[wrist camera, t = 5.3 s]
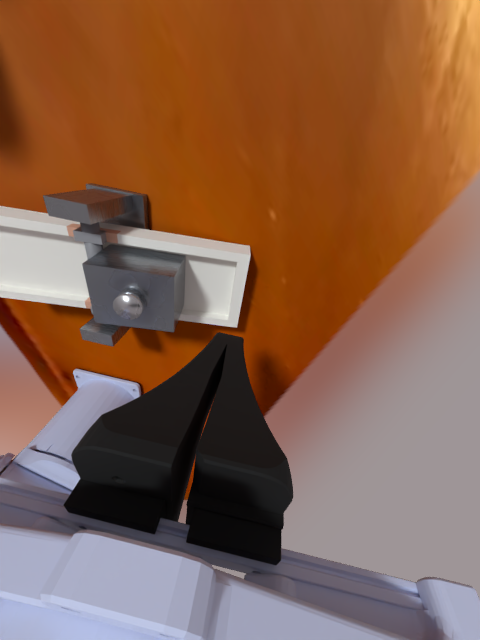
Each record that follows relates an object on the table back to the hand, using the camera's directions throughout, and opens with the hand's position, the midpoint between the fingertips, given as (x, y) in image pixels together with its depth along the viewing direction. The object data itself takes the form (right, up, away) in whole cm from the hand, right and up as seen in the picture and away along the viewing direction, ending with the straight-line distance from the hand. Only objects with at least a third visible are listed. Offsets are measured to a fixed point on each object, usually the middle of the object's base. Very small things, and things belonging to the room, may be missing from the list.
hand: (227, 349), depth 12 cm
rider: (-6, +5, +5) cm, 9 cm away
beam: (-9, +6, +6) cm, 12 cm away
